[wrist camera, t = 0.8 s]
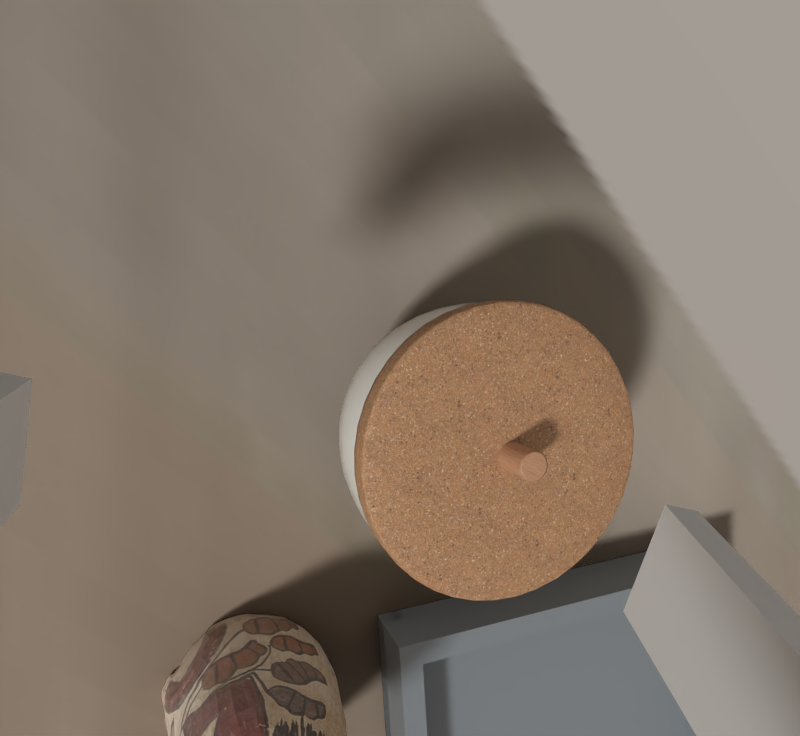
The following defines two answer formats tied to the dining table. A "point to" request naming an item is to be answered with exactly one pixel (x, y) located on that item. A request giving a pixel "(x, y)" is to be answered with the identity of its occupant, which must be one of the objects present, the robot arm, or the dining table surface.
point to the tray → (527, 664)
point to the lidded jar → (487, 446)
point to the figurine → (254, 683)
